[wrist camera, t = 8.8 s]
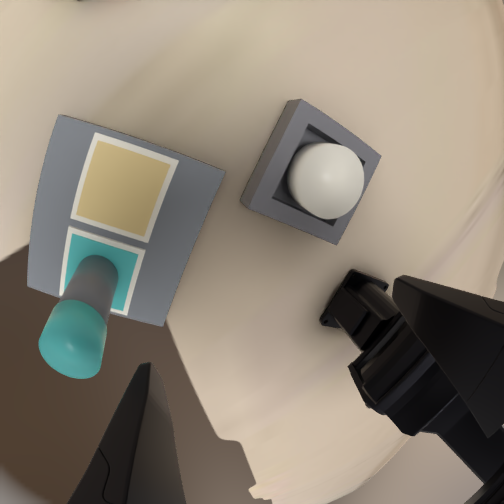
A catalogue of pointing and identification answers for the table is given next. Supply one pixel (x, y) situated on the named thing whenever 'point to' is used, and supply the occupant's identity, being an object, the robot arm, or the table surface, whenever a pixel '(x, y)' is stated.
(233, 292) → the table surface
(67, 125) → the picture board
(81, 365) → the marker
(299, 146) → the button housing
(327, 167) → the button
